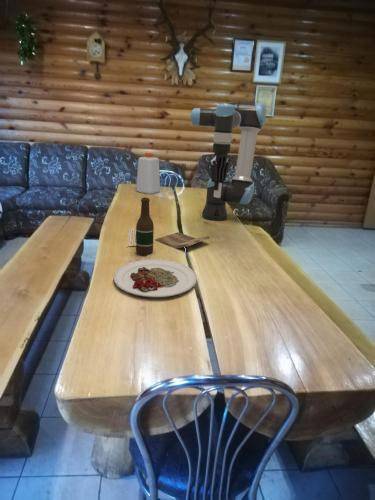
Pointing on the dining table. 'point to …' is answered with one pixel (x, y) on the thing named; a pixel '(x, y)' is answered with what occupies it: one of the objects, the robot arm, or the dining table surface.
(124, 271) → the plated food
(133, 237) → the newspaper
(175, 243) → the floor panel
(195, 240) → the plank
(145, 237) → the beer bottle
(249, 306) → the dining table surface
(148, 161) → the white thread spool
